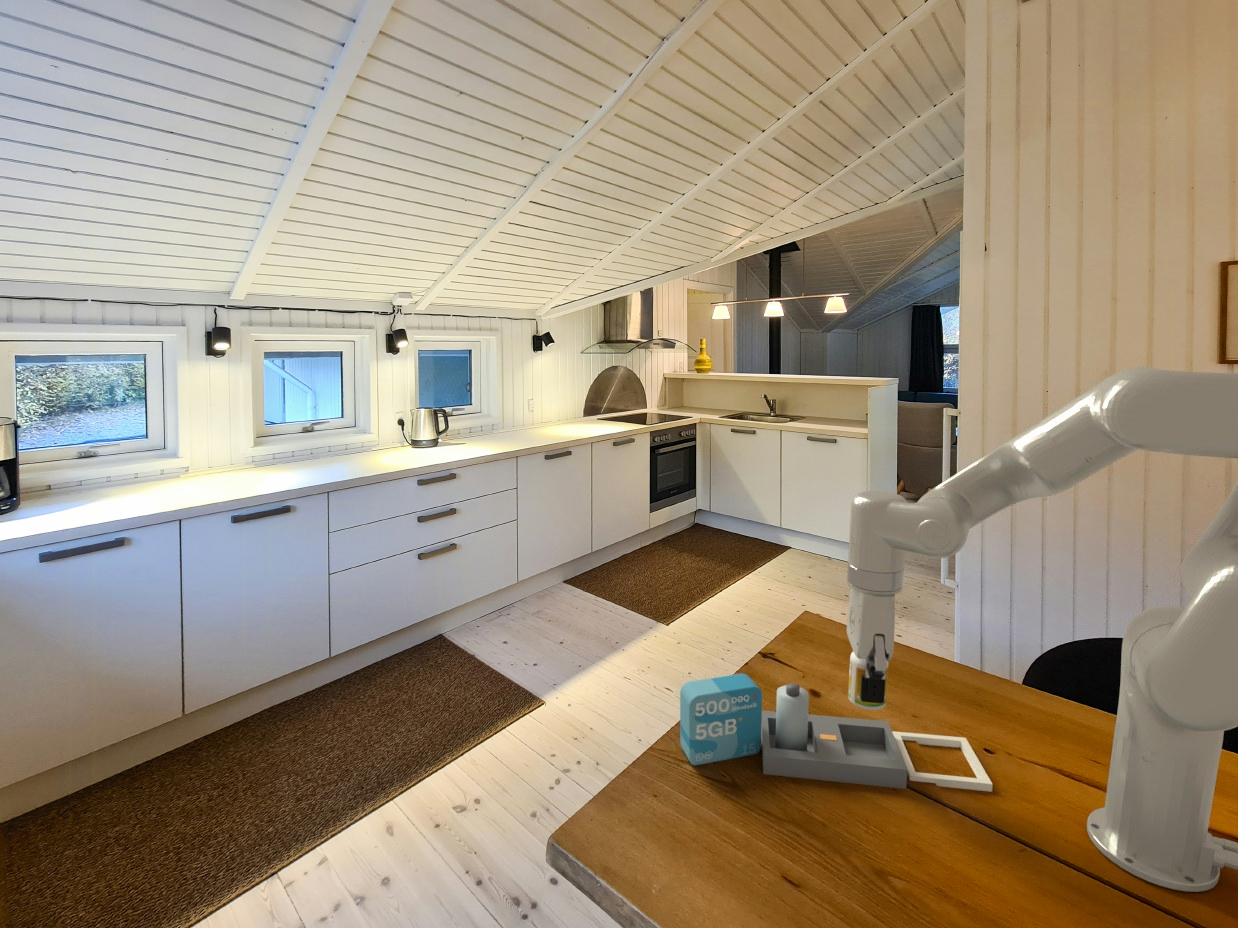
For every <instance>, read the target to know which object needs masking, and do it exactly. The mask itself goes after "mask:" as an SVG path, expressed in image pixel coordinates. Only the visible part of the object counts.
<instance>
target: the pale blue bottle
mask: <svg viewBox="0 0 1238 928" xmlns="http://www.w3.org/2000/svg"><path fill="white" fill-rule="evenodd" d="M809 702H810V695H809V692H808V690H806V689H804V687H801V686H800V685H799V684H798V683H795V682H789V683H786V685H782V686H780V687H778V688H777V689H776V707H775V710H776V711H775V712H776V743H775V748H776V749H786V750H797V751H807V736H808V714H809V707H810V706H809V705H810V703H809Z"/></svg>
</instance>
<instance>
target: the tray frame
mask: <svg viewBox="0 0 1238 928" xmlns="http://www.w3.org/2000/svg"><path fill="white" fill-rule="evenodd" d="M892 733H893V735H894V738H895V740H896V743H897V745H898V748H899V750H900V753H901V755H902V758H903V760H904V763H905V765H906V768H907V778H908V779H909V781H910V782H921V783H931V784H935V786H936V787H943V788H952V789H961V790H972V791H981V792H990V793H991V792H993V782H992V781H991V779H990V777H989V775H988V774H987V773H986V770H985V769H984V767H983V765H982V763H981V762H980V760H979V758H978V756H977V755H976V754H975V752H974V749H973V748H972V746H971V745H970V743H969V741H968V739H967V738H966V737H962V736H951V735H950V736H949V735H939V734H927V733H916V732H904V731H894V730H892ZM904 741H911V742H912V741H913V742H916V743H917V744H918V745H928V746H937V747H939V746H940V747H948V748H949V747H950V748H957V749H958V748H959V749H961V752H962V754H963V755H964V757H965V759H966V760H967V762H968V764H969V766H970V768H971V769H972V771H973V773H974V775H975V777H968V776H960V775H959V776H958V775H946V774H937V773H928V772H917V771H916V770H915V767H914V765H913V763H912V760H911V758H910V755H909V753H908V750H907V749H906V745H905V744H904Z"/></svg>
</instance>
